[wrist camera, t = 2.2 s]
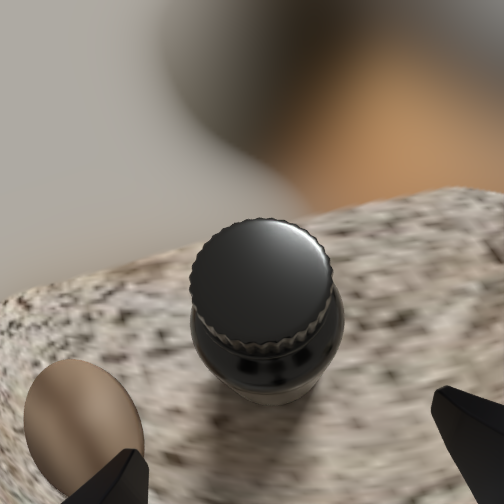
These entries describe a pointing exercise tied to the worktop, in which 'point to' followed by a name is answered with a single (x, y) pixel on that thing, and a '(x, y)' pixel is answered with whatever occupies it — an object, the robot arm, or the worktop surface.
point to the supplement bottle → (265, 309)
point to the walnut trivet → (78, 422)
